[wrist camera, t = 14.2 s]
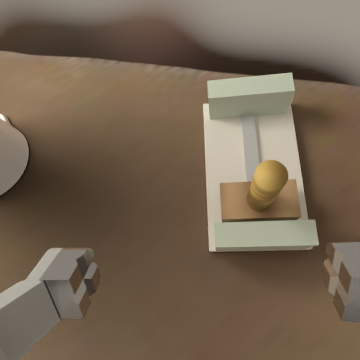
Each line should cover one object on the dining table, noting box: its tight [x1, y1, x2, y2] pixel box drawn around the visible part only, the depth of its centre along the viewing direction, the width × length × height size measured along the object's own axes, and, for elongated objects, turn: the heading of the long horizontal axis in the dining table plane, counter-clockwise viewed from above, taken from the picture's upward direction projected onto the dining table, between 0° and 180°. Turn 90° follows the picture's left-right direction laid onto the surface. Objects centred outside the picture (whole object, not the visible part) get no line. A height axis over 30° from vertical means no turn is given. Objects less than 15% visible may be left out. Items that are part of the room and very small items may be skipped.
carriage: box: [220, 160, 301, 223], centre depth 34 cm, size 10×5×13 cm, turn 91°
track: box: [203, 73, 319, 252], centre depth 41 cm, size 14×24×8 cm, turn 1°
